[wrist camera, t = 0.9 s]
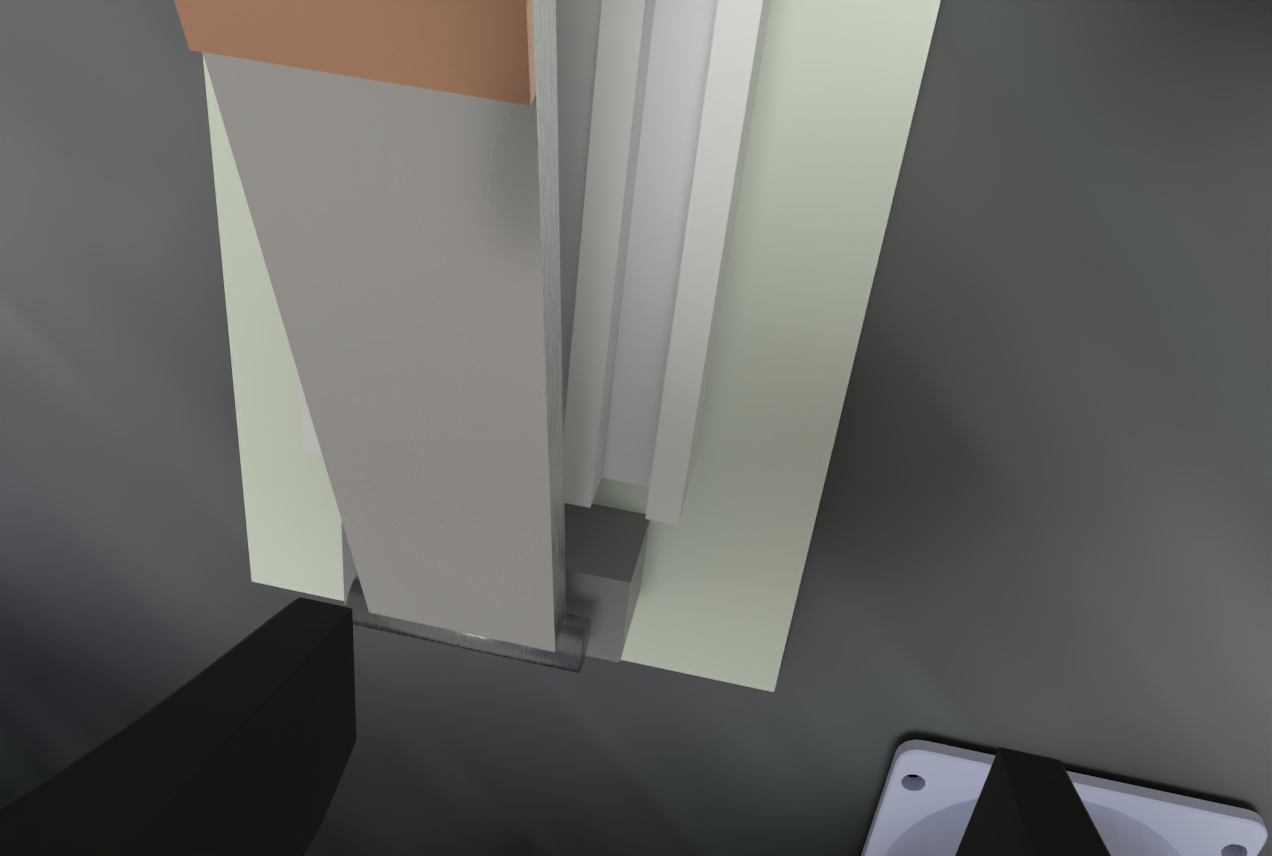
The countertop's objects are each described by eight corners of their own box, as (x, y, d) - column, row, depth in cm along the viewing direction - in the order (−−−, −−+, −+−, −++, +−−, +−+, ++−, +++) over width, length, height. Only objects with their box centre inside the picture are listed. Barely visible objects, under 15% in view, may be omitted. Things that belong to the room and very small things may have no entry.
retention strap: (591, 634, 21) (577, 687, 20) (369, 587, 22) (348, 638, 21) (605, -152, 10) (576, -94, 9) (138, -217, 10) (77, -166, 10)
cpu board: (776, 667, 25) (761, 801, 22) (267, 560, 26) (182, 671, 23) (1004, -287, 15) (1038, -300, 12) (190, -386, 17) (26, -423, 13)
